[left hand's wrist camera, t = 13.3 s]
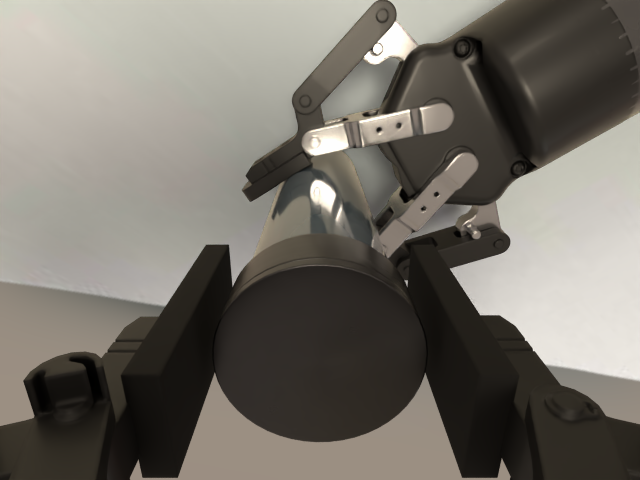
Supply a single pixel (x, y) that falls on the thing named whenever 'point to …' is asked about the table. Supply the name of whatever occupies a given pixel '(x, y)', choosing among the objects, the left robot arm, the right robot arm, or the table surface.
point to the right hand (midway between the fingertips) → (279, 233)
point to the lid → (320, 340)
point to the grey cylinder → (321, 204)
